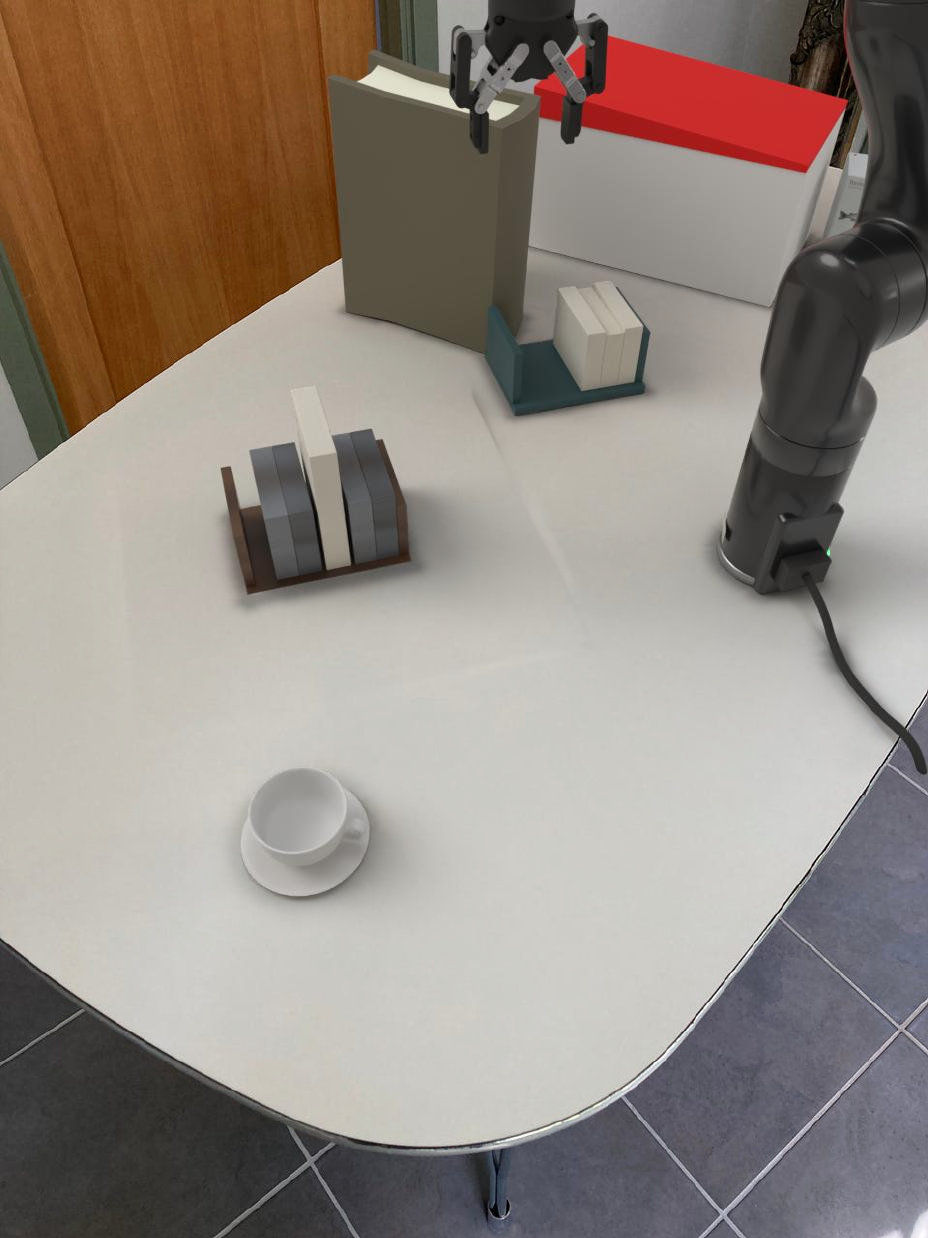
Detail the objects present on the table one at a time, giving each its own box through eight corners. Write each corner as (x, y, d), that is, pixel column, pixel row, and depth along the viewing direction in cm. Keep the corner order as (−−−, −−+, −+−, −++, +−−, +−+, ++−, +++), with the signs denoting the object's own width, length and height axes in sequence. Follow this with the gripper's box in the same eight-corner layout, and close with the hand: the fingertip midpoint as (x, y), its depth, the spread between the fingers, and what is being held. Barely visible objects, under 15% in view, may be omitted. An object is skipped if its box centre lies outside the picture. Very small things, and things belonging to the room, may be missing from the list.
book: (527, 324, 122) (548, 91, 101) (494, 361, 117) (509, 124, 95) (383, 277, 128) (373, 49, 107) (345, 311, 123) (328, 77, 102)
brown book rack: (412, 568, 94) (408, 499, 87) (248, 601, 91) (231, 533, 84) (385, 488, 101) (379, 420, 94) (233, 517, 98) (215, 448, 91)
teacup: (223, 886, 72) (211, 858, 68) (265, 774, 78) (255, 742, 75) (352, 909, 71) (346, 881, 67) (383, 793, 77) (379, 762, 74)
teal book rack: (644, 392, 112) (655, 329, 106) (514, 416, 109) (517, 352, 103) (606, 336, 119) (615, 274, 113) (484, 357, 117) (485, 293, 110)
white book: (351, 565, 92) (337, 452, 82) (326, 570, 92) (309, 457, 81) (331, 498, 99) (316, 384, 88) (308, 502, 98) (290, 389, 88)
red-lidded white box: (580, 183, 146) (594, 31, 130) (808, 236, 136) (854, 77, 120) (523, 245, 134) (532, 85, 118) (769, 307, 124) (814, 142, 108)
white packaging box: (817, 266, 130) (845, 174, 121) (820, 240, 135) (848, 149, 125) (873, 275, 129) (906, 182, 119) (874, 248, 134) (906, 156, 124)
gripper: (462, -36, 76) (463, 171, 88) (631, -50, 78) (608, 154, 90) (439, -62, 80) (443, 137, 93) (599, -75, 83) (582, 122, 95)
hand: (525, 145), depth 91 cm, fingers open, 8 cm apart
